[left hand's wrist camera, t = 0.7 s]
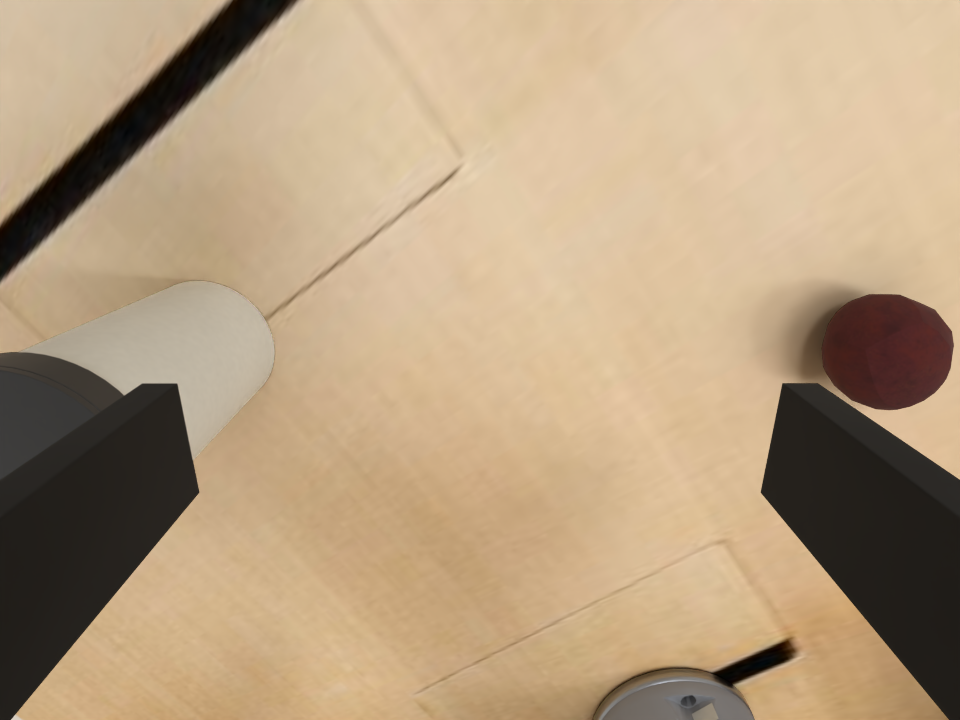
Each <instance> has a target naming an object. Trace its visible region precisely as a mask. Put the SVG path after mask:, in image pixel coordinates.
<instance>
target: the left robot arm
mask: <svg viewBox="0 0 960 720" xmlns="http://www.w3.org/2000/svg"><path fill="white" fill-rule="evenodd" d="M198 493H199V489H198V484H197V479H196V474H195V469H194V464H193V459H192V454H191V449H190V444H189V439H188V434H187V429H186V424H185V419H184V414H183V409H182V404H181V399H180V394H179V389H178V384H177V383H142V384H141V385H139V386H138V387H136V388H135V389H133V390H132V391H130V392H129V393H127V394H126V395H124V396H123V397H121V398H120V399H118V400H117V401H116V402H114V403H113V404H111V405H110V406H108V407H107V408H105V409H104V410H102V411H101V412H99V413H98V414H96V415H95V416H93V417H92V418H91V419H89V420H88V421H86V422H85V423H83V424H82V425H80V426H79V427H77V428H76V429H74V430H73V431H71V432H70V433H68V434H67V435H65V436H64V437H63V438H61V439H60V440H58V441H57V442H55V443H54V444H52V445H51V446H49V447H48V448H46V449H45V450H43V451H42V452H40V453H39V454H38V455H36V456H35V457H33V458H32V459H30V460H29V461H27V462H26V463H24V464H23V465H21V466H20V467H18V468H17V469H15V470H14V471H13V472H11V473H10V474H8V475H7V476H5V477H4V478H2V479H1V480H0V720H11V719H12V718H13V716H14V715H15V714H16V713H17V712H18V710H19V709H20V708H21V707H22V706H23V704H24V703H25V702H26V701H27V700H28V698H29V697H30V696H31V695H32V694H33V692H34V691H35V690H36V689H37V688H38V686H39V685H40V684H41V683H42V682H43V680H44V679H45V678H46V677H47V676H48V674H49V673H50V672H51V671H52V669H53V668H54V667H55V666H56V665H57V663H58V662H59V661H60V660H61V659H62V657H63V656H64V655H65V654H66V653H67V651H68V650H69V649H70V648H71V647H72V645H73V644H74V643H75V642H76V641H77V639H78V638H79V637H80V636H81V635H82V633H83V632H84V631H85V630H86V628H87V627H88V626H89V625H90V624H91V622H92V621H93V620H94V619H95V618H96V616H97V615H98V614H99V613H100V612H101V610H102V609H103V608H104V607H105V606H106V604H107V603H108V602H109V601H110V600H111V598H112V597H113V596H114V595H115V593H116V592H117V591H118V590H119V589H120V587H121V586H122V585H123V584H124V583H125V581H126V580H127V579H128V578H129V577H130V575H131V574H132V573H133V572H134V571H135V569H136V568H137V567H138V566H139V565H140V563H141V562H142V561H143V560H144V559H145V557H146V556H147V555H148V554H149V552H150V551H151V550H152V549H153V548H154V546H155V545H156V544H157V543H158V542H159V540H160V539H161V538H162V537H163V536H164V534H165V533H166V532H167V531H168V530H169V528H170V527H171V526H172V525H173V524H174V522H175V521H176V520H177V519H178V517H179V516H180V515H181V514H182V513H183V511H184V510H185V509H186V508H187V507H188V505H189V504H190V503H191V502H192V501H193V499H194V498H195V497H196V496H197V495H198ZM761 493H762V495H763V496H764V497H765V498H766V499H767V501H768V502H769V503H770V504H771V505H772V507H773V508H774V509H775V510H776V511H777V513H778V514H779V515H780V516H781V517H782V519H783V520H784V521H785V522H786V524H787V525H788V526H789V527H790V528H791V530H792V531H793V532H794V533H795V534H796V536H797V537H798V538H799V539H800V540H801V542H802V543H803V544H804V545H805V546H806V548H807V549H808V550H809V551H810V552H811V554H812V555H813V556H814V557H815V559H816V560H817V561H818V562H819V563H820V565H821V566H822V567H823V568H824V569H825V571H826V572H827V573H828V574H829V575H830V577H831V578H832V579H833V580H834V581H835V583H836V584H837V585H838V586H839V587H840V589H841V590H842V591H843V592H844V593H845V595H846V596H847V597H848V598H849V600H850V601H851V602H852V603H853V604H854V606H855V607H856V608H857V609H858V610H859V612H860V613H861V614H862V615H863V616H864V618H865V619H866V620H867V621H868V622H869V624H870V625H871V626H872V627H873V628H874V630H875V631H876V632H877V633H878V635H879V636H880V637H881V638H882V639H883V641H884V642H885V643H886V644H887V645H888V647H889V648H890V649H891V650H892V651H893V653H894V654H895V655H896V656H897V657H898V659H899V660H900V661H901V662H902V663H903V665H904V666H905V667H906V668H907V669H908V671H909V672H910V673H911V674H912V676H913V677H914V678H915V679H916V680H917V682H918V683H919V684H920V685H921V686H922V688H923V689H924V690H925V691H926V692H927V694H928V695H929V696H930V697H931V698H932V700H933V701H934V702H935V703H936V704H937V706H938V707H939V708H940V709H941V711H942V712H943V713H944V714H945V715H946V717H947V718H948V719H949V720H960V480H959V479H958V478H956V477H955V476H953V475H952V474H950V473H949V472H947V471H946V470H945V469H943V468H942V467H940V466H939V465H937V464H936V463H934V462H933V461H931V460H930V459H928V458H927V457H925V456H924V455H922V454H921V453H920V452H918V451H917V450H915V449H914V448H912V447H911V446H909V445H908V444H906V443H905V442H903V441H902V440H900V439H899V438H897V437H896V436H895V435H893V434H892V433H890V432H889V431H887V430H886V429H884V428H883V427H881V426H880V425H878V424H877V423H875V422H874V421H872V420H871V419H869V418H868V417H867V416H865V415H864V414H862V413H861V412H859V411H858V410H856V409H855V408H853V407H852V406H850V405H849V404H847V403H846V402H844V401H843V400H842V399H840V398H839V397H837V396H836V395H834V394H833V393H831V392H830V391H828V390H827V389H825V388H824V387H822V386H821V385H819V384H818V383H783V384H782V389H781V394H780V399H779V404H778V409H777V414H776V419H775V424H774V429H773V434H772V439H771V444H770V449H769V454H768V459H767V464H766V469H765V474H764V479H763V484H762V489H761Z"/></svg>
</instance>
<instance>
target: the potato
mask: <svg viewBox="0 0 960 720" xmlns="http://www.w3.org/2000/svg"><path fill="white" fill-rule="evenodd" d="M953 347H954V344H953V336H952V331H951V330H950V328H949V327H948V326H947V325H946V323H945V322H944V321H943V319H942V318H941V317H940V316H939V314H938V313H937V312H936V311H935V310H934V309H932V308H930V307H928V306H926V305H923V304H921V303H919V302H917V301H914V300H911V299H909V298H906V297H904V296H901V295H892V294H869V295H866V296H863V297H861V298H858V299H855V300H852V301H850V302H848V303H847V304H846V305H844V306H843V307H842V308H841V309H840V310H838V311H837V312H836V313H835V315H834V316H833V318H832V320H831V321H830V323H829V324H828V327H827V330H826V334H825V337H824V341H823V345H822V358H823V367H824V369H825V371H826V373H827V375H828V376H829V378H830V379H831V381H832V383H833V384H834V385H835V386H836V387H837V388H838V389H839V390H840V391H841V392H842V393H844V394H845V395H846V396H847V397H848V398H850V399H851V400H852V401H855V402H858V403H860V404H863V405H866V406H869V407H871V408H874V409H881V410H897V409H901V408H906V407H910V406H913V405H915V404H917V403H919V402H922V401H924V400H925V399H927V398H928V397H929V396H931V395H932V394H934V393H935V392H936V391H937V390H938V389H939V388H940V386H941V385H942V384H943V383H944V381H945V380H946V378H947V376H948V373H949V371H950V368H951V361H952V354H953Z"/></svg>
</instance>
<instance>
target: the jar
mask: <svg viewBox="0 0 960 720" xmlns="http://www.w3.org/2000/svg"><path fill="white" fill-rule="evenodd" d="M20 352H29V353H37V354H44V355H48V356H53V357H57V358H61V359H63V360H66V361H69V362H72V363H75V364H77V365H79V366H81V367H83V368H85V369H88V370H90V371H91V372H93V373H95V374H96V375H98V376H100V377H101V378H103V379H104V380H106V381H107V382H109V383H110V384H111V385H113V386H114V387H115V388H116V389H118V390H119V391H120V392H121V393H122V394H123V395H126V394H127V393H129V392H130V391H132V390H133V389H135V388H136V387H138V386H139V385H141V384H142V383H177V384H178V389H179V394H180V399H181V404H182V409H183V414H184V419H185V424H186V429H187V434H188V439H189V444H190V449H191V454H192V459H193V460H194V459H195V458H196V457H197V456H198V455H199V454H200V453H201V451H202V450H203V449H204V448H205V447H206V446H207V445H208V444H209V443H210V442H211V441H212V440H213V439H214V438H215V436H216V435H217V434H218V433H219V432H220V431H221V430H222V429H223V428H224V427H225V426H226V425H227V424H228V423H229V422H230V420H231V419H232V418H233V417H234V416H235V415H236V414H237V413H238V412H239V411H240V410H241V409H242V408H243V407H244V405H245V404H246V403H247V402H248V401H249V400H250V399H251V398H252V397H253V396H254V395H255V394H256V393H257V392H258V391H259V389H260V388H261V387H262V386H263V385H264V384H265V382H266V381H267V379H268V377H269V375H270V373H271V371H272V368H273V364H274V356H275V349H274V341H273V337H272V334H271V331H270V329H269V326H268V324H267V322H266V321H265V319H264V317H263V316H262V314H261V313H260V312H259V310H258V309H257V308H256V307H255V306H254V305H253V304H252V303H251V302H250V301H249V300H248V299H247V298H245V297H244V296H242V295H241V294H240V293H238V292H236V291H234V290H233V289H231V288H229V287H226V286H223V285H221V284H217V283H213V282H208V281H187V282H182V283H179V284H176V285H173V286H171V287H169V288H166V289H164V290H162V291H159V292H157V293H155V294H152V295H150V296H148V297H145V298H143V299H141V300H138V301H136V302H134V303H131V304H129V305H127V306H124V307H122V308H120V309H117V310H115V311H113V312H110V313H108V314H106V315H103V316H101V317H99V318H96V319H94V320H92V321H89V322H87V323H85V324H83V325H80V326H78V327H76V328H73V329H71V330H69V331H66V332H64V333H62V334H59V335H57V336H55V337H52V338H50V339H48V340H45V341H43V342H41V343H38V344H36V345H34V346H31V347H29V348H27V349H24V350H22V351H20Z"/></svg>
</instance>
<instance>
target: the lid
mask: <svg viewBox="0 0 960 720" xmlns="http://www.w3.org/2000/svg"><path fill="white" fill-rule="evenodd" d="M123 396H124V395H123V394H122V393H121V392H120V391H119V390H118V389H116V388H115V387H114V386H113V385H111V384H110V383H109V382H107V381H106V380H104V379H103V378H101V377H100V376H98V375H96V374H95V373H93V372H91V371H90V370H88V369H85V368H83V367H81V366H79V365H77V364H75V363H72V362H69V361H66V360H63V359H61V358H57V357H53V356H48V355H44V354H37V353H29V352H9V353H0V480H1V479H2V478H4V477H5V476H7V475H8V474H10V473H11V472H13V471H14V470H15V469H17V468H18V467H20V466H21V465H23V464H24V463H26V462H27V461H29V460H30V459H32V458H33V457H35V456H36V455H38V454H39V453H40V452H42V451H43V450H45V449H46V448H48V447H49V446H51V445H52V444H54V443H55V442H57V441H58V440H60V439H61V438H63V437H64V436H65V435H67V434H68V433H70V432H71V431H73V430H74V429H76V428H77V427H79V426H80V425H82V424H83V423H85V422H86V421H88V420H89V419H91V418H92V417H93V416H95V415H96V414H98V413H99V412H101V411H102V410H104V409H105V408H107V407H108V406H110V405H111V404H113V403H114V402H116V401H117V400H118V399H120V398H121V397H123Z"/></svg>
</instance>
